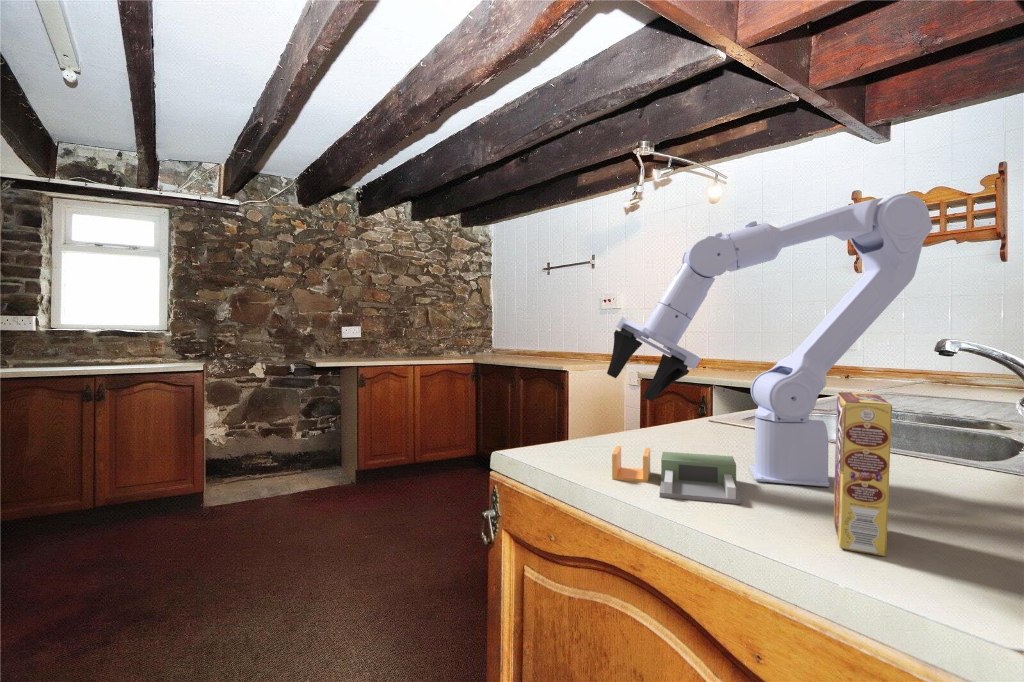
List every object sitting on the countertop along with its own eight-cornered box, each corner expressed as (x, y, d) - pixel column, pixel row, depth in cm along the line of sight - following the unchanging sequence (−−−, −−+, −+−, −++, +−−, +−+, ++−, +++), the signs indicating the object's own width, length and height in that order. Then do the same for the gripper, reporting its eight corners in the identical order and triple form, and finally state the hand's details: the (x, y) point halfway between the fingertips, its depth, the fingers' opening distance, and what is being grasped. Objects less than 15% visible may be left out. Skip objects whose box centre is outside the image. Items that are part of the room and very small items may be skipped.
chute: (650, 473, 81) (650, 448, 81) (648, 483, 76) (647, 456, 75) (616, 470, 82) (616, 445, 82) (612, 480, 77) (612, 454, 77)
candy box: (891, 559, 50) (893, 403, 50) (839, 550, 52) (840, 400, 52) (878, 527, 58) (879, 392, 58) (833, 520, 60) (834, 390, 60)
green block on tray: (732, 479, 76) (732, 456, 76) (740, 504, 66) (740, 477, 66) (662, 474, 79) (662, 451, 79) (659, 496, 69) (659, 471, 69)
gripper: (626, 286, 81) (583, 360, 83) (704, 321, 71) (653, 405, 72) (647, 301, 86) (605, 370, 88) (722, 336, 76) (674, 414, 77)
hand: (628, 387), depth 80 cm, fingers open, 7 cm apart
